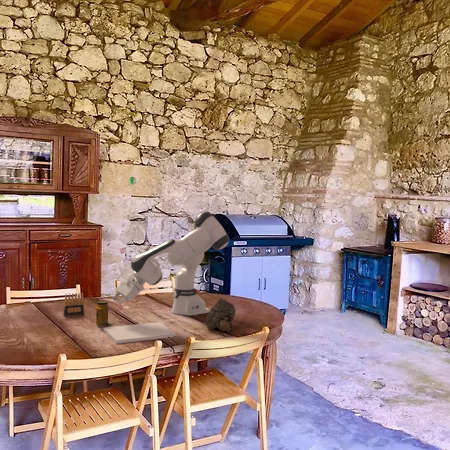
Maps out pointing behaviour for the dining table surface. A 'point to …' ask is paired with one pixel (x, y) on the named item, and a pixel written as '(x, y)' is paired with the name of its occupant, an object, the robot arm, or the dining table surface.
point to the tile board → (138, 332)
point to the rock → (221, 316)
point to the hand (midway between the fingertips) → (116, 301)
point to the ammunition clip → (73, 305)
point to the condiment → (102, 314)
